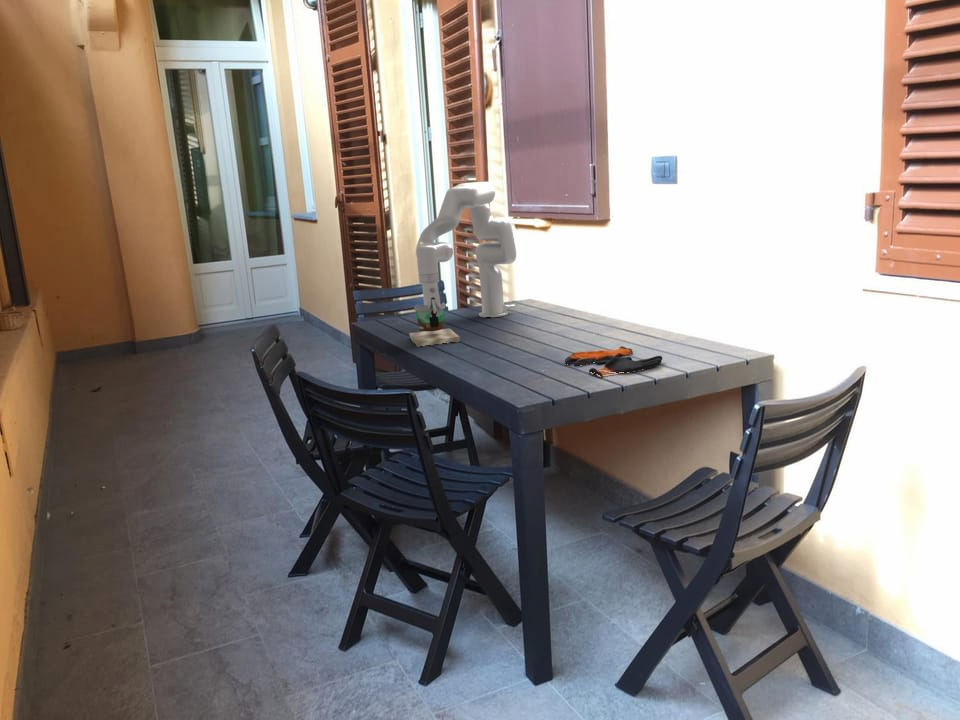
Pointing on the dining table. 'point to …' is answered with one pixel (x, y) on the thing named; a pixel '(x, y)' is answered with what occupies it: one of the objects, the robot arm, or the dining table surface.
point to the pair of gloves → (612, 361)
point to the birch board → (434, 337)
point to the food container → (424, 315)
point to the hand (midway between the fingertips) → (433, 325)
